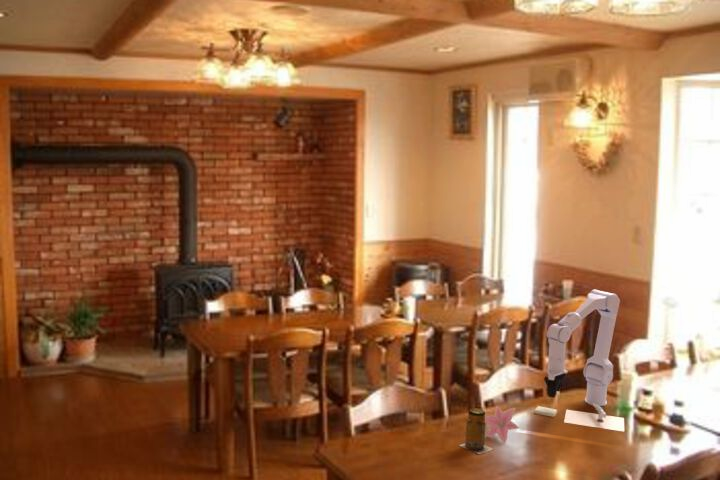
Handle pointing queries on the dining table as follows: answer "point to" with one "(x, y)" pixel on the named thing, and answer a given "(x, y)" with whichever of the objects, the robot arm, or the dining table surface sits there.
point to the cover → (545, 411)
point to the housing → (594, 420)
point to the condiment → (476, 432)
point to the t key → (600, 410)
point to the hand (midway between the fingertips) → (554, 393)
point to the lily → (501, 423)
